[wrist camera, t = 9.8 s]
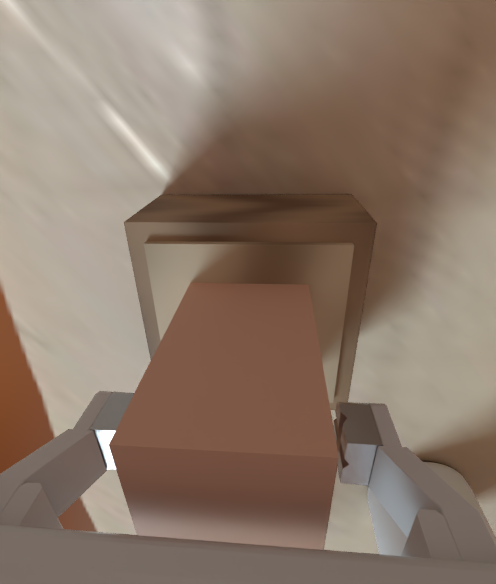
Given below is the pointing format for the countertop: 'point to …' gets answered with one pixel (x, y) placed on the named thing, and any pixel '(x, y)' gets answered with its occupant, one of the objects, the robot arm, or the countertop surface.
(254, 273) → the pedestal
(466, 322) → the countertop surface
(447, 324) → the countertop surface
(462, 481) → the pill bottle
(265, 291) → the terracotta block
